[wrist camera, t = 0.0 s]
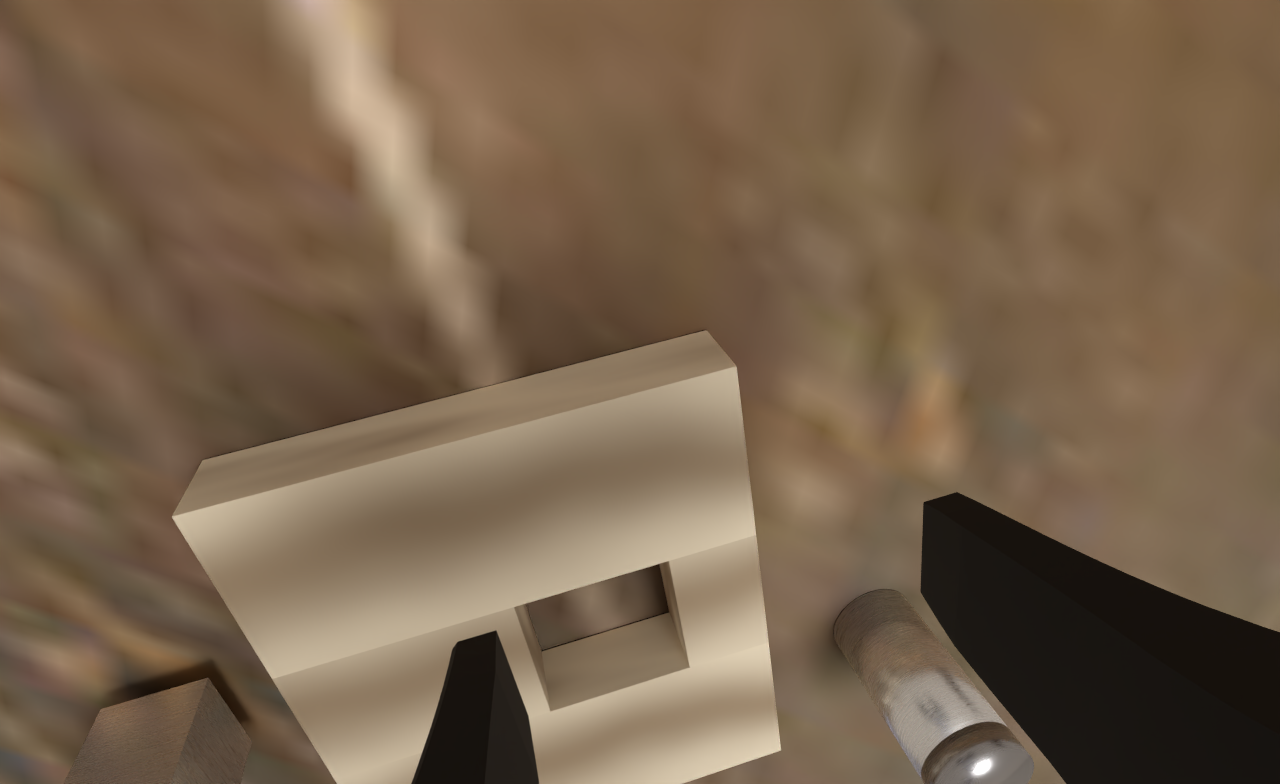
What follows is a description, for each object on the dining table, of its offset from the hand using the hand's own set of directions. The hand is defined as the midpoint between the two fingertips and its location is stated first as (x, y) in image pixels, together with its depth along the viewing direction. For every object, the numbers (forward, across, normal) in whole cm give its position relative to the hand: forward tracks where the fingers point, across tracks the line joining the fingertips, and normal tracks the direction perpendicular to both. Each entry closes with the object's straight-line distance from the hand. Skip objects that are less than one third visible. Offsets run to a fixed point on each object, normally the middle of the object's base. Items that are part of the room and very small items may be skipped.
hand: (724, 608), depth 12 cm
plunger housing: (+10, +15, +8) cm, 20 cm away
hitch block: (+10, +4, +8) cm, 13 cm away
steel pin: (+10, -8, +14) cm, 19 cm away
